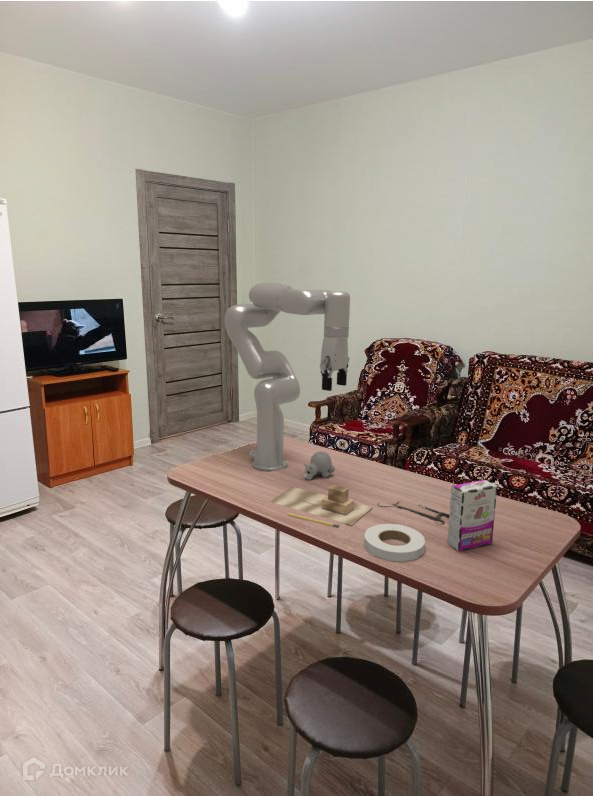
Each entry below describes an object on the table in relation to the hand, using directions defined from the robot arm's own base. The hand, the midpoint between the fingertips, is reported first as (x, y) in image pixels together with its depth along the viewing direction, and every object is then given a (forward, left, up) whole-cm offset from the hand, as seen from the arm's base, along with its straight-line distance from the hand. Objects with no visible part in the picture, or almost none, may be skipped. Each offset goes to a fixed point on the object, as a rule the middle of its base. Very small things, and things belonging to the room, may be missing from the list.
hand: (334, 387), depth 170 cm
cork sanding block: (+10, -14, -33) cm, 37 cm away
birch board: (+4, -14, -33) cm, 36 cm away
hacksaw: (+30, -2, -34) cm, 46 cm away
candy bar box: (+48, -13, -34) cm, 60 cm away
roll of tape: (+32, -25, -34) cm, 53 cm away
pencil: (+7, -25, -33) cm, 42 cm away
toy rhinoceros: (-8, +6, -34) cm, 35 cm away
